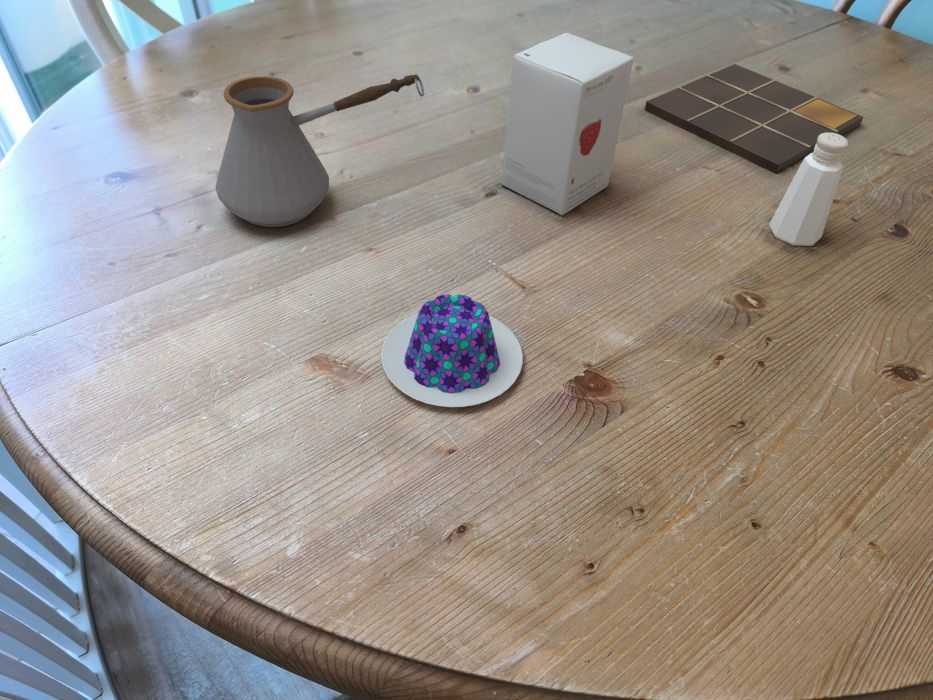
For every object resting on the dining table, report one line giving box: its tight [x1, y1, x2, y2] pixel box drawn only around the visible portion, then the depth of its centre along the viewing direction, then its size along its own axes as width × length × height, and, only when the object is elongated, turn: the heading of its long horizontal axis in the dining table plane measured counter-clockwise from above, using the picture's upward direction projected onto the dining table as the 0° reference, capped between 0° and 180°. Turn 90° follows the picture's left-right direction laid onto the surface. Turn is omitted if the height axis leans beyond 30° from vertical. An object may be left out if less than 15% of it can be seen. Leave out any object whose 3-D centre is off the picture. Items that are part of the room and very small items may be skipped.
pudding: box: [380, 293, 524, 408], centre depth 62 cm, size 12×12×5 cm
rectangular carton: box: [500, 32, 634, 216], centre depth 79 cm, size 9×9×15 cm
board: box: [644, 63, 864, 174], centre depth 98 cm, size 20×20×1 cm
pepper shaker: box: [768, 133, 849, 247], centre depth 76 cm, size 5×5×11 cm
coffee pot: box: [215, 74, 425, 228], centre depth 74 cm, size 21×12×15 cm, turn 90°
